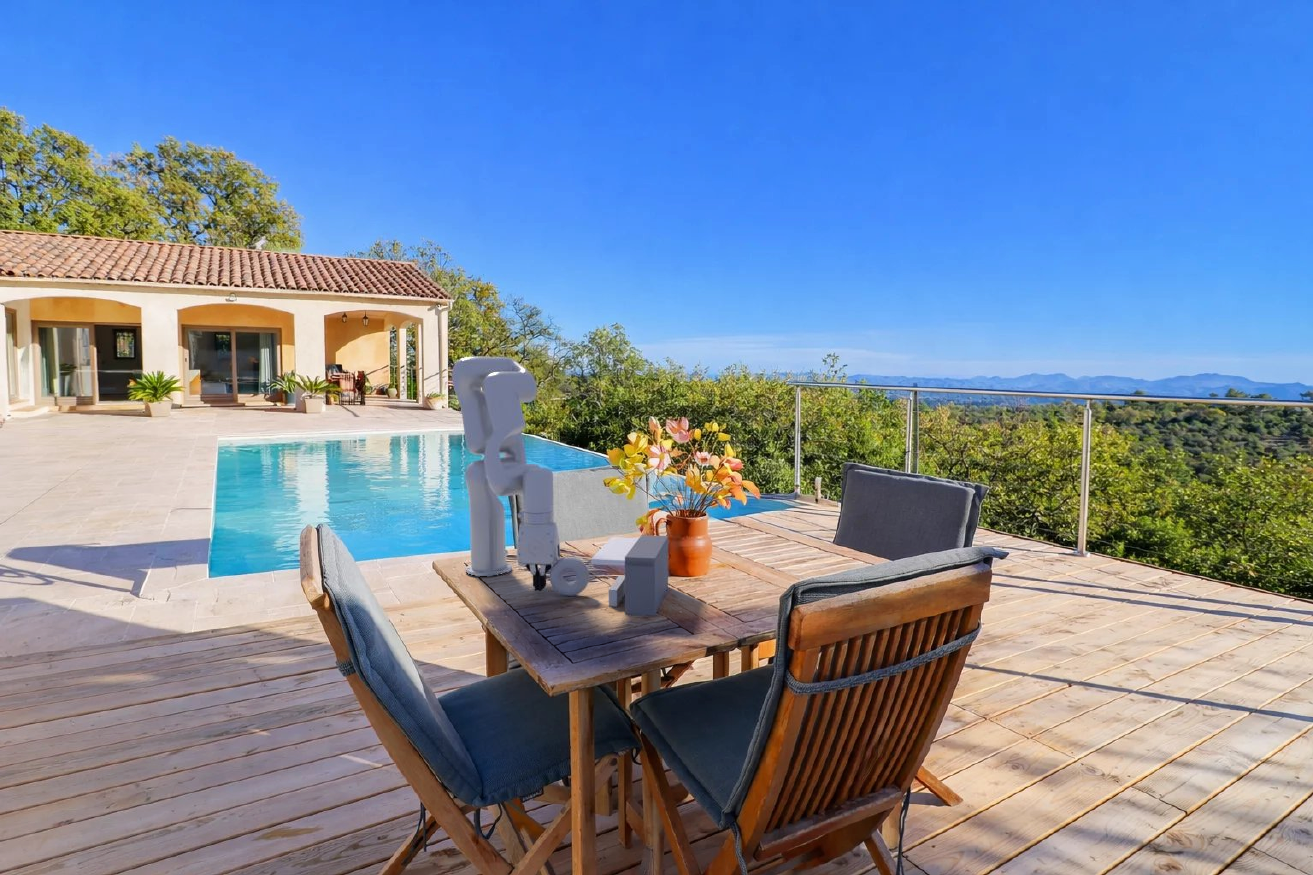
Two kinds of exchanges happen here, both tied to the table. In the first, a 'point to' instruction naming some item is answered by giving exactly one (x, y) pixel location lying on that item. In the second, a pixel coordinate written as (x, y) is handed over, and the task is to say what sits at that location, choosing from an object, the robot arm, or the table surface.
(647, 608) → the ledge cabinet
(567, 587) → the donut
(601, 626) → the table surface
